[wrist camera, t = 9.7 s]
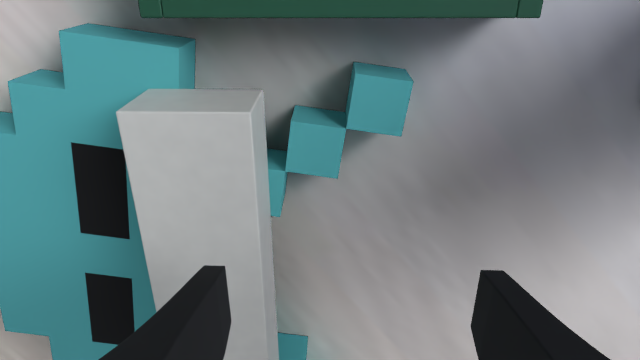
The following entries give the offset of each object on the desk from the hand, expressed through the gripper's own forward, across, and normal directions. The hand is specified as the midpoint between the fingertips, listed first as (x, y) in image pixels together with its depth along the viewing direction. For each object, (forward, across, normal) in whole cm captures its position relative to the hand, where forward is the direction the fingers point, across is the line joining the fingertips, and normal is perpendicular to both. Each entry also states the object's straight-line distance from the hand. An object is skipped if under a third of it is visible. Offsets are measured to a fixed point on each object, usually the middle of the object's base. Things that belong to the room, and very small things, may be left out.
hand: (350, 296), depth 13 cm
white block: (+7, +6, +3) cm, 9 cm away
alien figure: (+9, +9, +4) cm, 14 cm away
